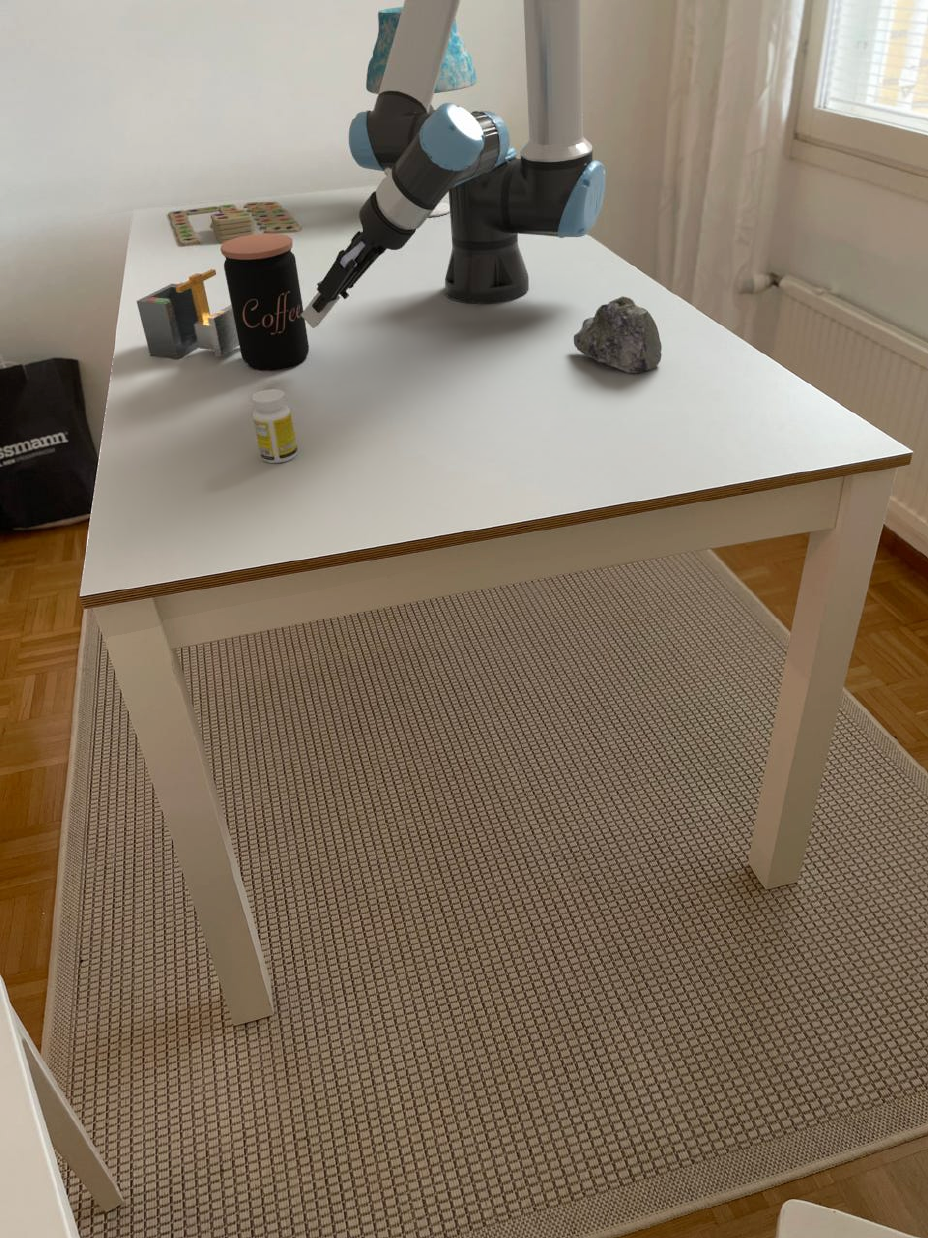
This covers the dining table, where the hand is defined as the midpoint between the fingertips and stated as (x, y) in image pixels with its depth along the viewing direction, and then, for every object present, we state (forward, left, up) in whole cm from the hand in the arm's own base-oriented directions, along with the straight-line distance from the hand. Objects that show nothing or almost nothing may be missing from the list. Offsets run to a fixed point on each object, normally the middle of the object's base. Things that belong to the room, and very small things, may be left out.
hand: (309, 319), depth 149 cm
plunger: (+18, 0, -6) cm, 19 cm away
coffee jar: (+7, 0, -7) cm, 10 cm away
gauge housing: (+26, 0, -7) cm, 27 cm away
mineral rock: (-44, -15, -7) cm, 47 cm away
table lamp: (+23, -89, -7) cm, 92 cm away
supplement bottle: (-12, +29, -7) cm, 32 cm away
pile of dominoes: (+66, -71, -8) cm, 98 cm away
